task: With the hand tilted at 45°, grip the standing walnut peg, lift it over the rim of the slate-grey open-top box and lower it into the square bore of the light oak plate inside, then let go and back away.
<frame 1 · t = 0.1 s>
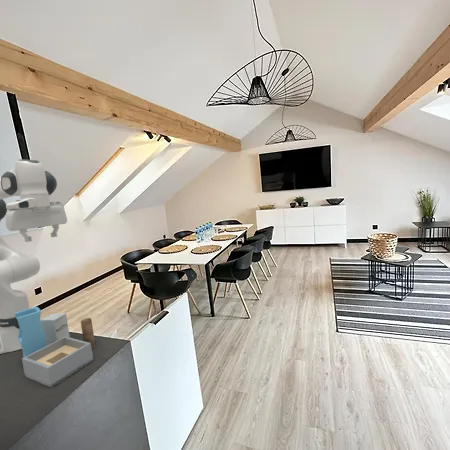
hand: (41, 239, 105), 48 cm above the table, tool pointing down, fingers open, 8 cm apart
blue curved piece: (36, 360, 110), on the table
supplement box: (57, 344, 121), on the table
peg: (90, 347, 116), on the table
bore box: (60, 368, 102), on the table
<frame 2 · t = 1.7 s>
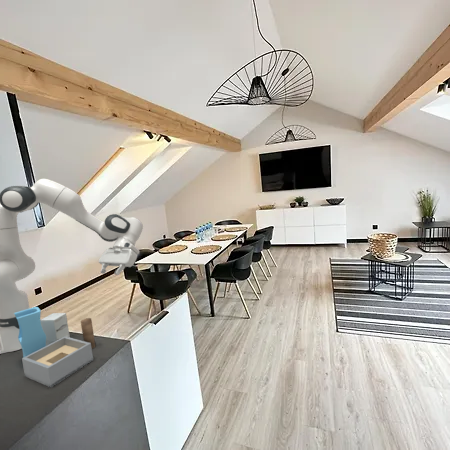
hand: (109, 273, 125), 28 cm above the table, tool tilted 45°, fingers open, 8 cm apart
nothing on the table moved.
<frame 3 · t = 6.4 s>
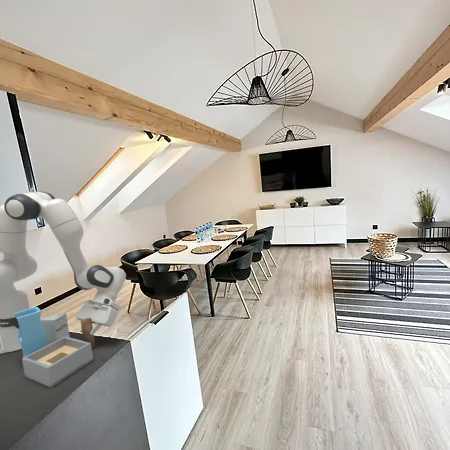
hand: (86, 333, 114), 6 cm above the table, tool tilted 45°, fingers closed on peg, 4 cm apart
peg: (90, 347, 116), on the table, touching gripper
everything else where it was.
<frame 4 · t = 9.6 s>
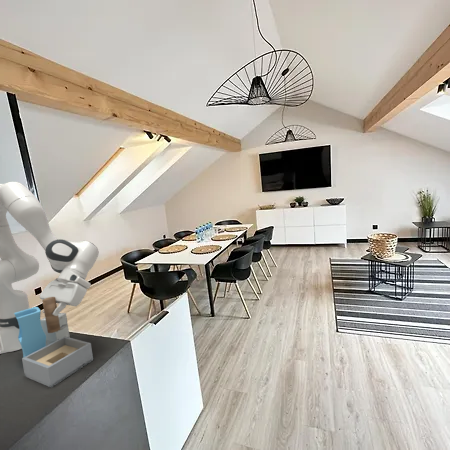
hand: (49, 314, 100), 21 cm above the table, tool tilted 45°, fingers closed on peg, 4 cm apart
peg: (54, 330, 101), point 15 cm above the table, touching gripper
everything else where it was.
when the fingers open (9 cm above the table, at t = 12.9 s): peg drops 1 cm, resting on bore box.
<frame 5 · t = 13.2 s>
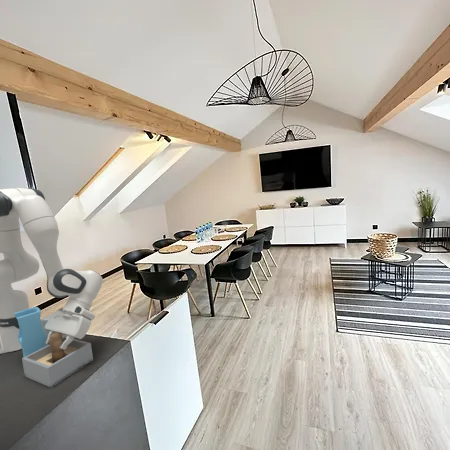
hand: (54, 346, 101), 9 cm above the table, tool tilted 45°, fingers open, 7 cm apart
peg: (59, 365, 102), point 1 cm above the table, touching bore box
everything else where it was.
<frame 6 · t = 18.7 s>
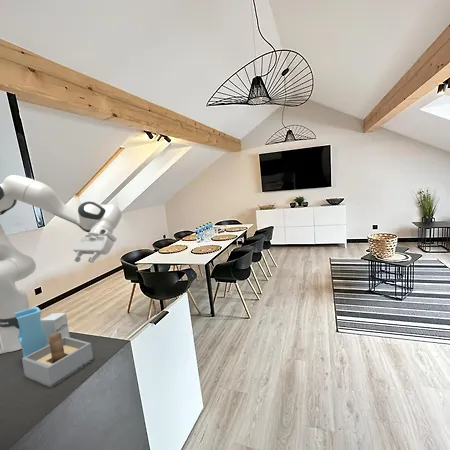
hand: (83, 261, 118), 35 cm above the table, tool tilted 45°, fingers open, 8 cm apart
nothing on the table moved.
at the end: peg 0.0 cm off-centre on the bore box, point 1.0 cm above the bore box's base; peg tilted 0°; the gripper is holding nothing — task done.
